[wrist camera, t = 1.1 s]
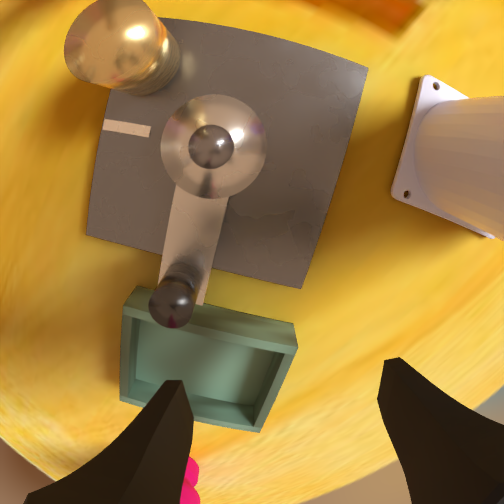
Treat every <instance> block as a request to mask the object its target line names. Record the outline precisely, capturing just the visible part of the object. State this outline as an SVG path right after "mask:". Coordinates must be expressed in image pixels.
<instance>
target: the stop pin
mask: <svg viewBox="0 0 504 504" xmlns="http://www.w3.org/2000/svg"><path fill="white" fill-rule="evenodd" d="M64 57H65V61H66V64H67V67H68V68H69V70H70V72H71V73H72V74H73V75H74V76H76V77H77V78H79V79H81V80H83V81H86V82H89V83H93V84H96V85H100V86H103V87H107V88H110V89H113V90H117V91H120V92H123V93H126V94H129V95H134V96H144V95H149V94H152V93H154V92H157V91H159V90H160V89H162V88H163V87H164V86H166V85H167V84H168V83H169V82H170V81H171V80H172V78H173V77H174V75H175V74H176V72H177V70H178V67H179V64H180V58H181V54H180V48H179V45H178V43H177V41H176V40H175V38H174V37H173V36H172V35H171V33H170V32H169V31H168V30H167V28H166V27H165V26H164V25H163V24H162V22H161V21H160V20H159V19H158V18H157V16H156V15H155V14H154V13H153V12H152V10H151V9H150V8H149V7H148V6H147V4H146V3H145V2H143V1H142V0H98V1H96V2H94V3H92V4H91V5H90V6H88V7H87V8H86V9H85V10H83V11H82V12H81V13H80V15H79V16H78V17H77V18H76V19H75V21H74V22H73V24H72V25H71V27H70V29H69V31H68V34H67V36H66V40H65V45H64Z"/></svg>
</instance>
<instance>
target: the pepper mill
mask: <svg viewBox="0 0 504 504" xmlns="http://www.w3.org/2000/svg"><path fill="white" fill-rule="evenodd" d="M198 474H199V467H198V465H197V463H196V462H195V461H194V460H193V459H192V458H191V457H189V458H188V463H187V467H186V472H185V477H184V481H183V486H182V491H181V498H180V504H200V497H199V495H198V493H197V491H196V490H195V488H194V486H195V485H196V484H197V482H198Z"/></svg>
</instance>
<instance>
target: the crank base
mask: <svg viewBox="0 0 504 504" xmlns="http://www.w3.org/2000/svg"><path fill="white" fill-rule="evenodd" d="M157 18H158V19H159V20H160V21H161V22H162V24H163V25H164V26H165V27H166V28H167V30H168V31H169V32H170V33H171V35H172V36H173V37H174V38H175V40H176V41H177V43H178V45H179V48H180V54H181V58H180V64H179V67H178V70H177V72H176V74H175V75H174V77H173V78H172V80H171V81H170V82H169V83H168V84H167V85H166V86H164V87H163V88H162V89H160V90H159V91H157V92H154V93H152V94H149V95H144V96H134V95H129V94H126V93H123V92H120V91H117V90H113V89H111V91H110V95H109V99H108V103H107V107H106V111H105V116H104V120H103V125H102V130H101V135H100V140H99V145H98V150H97V156H96V162H95V168H94V174H93V181H92V188H91V195H90V203H89V212H88V221H87V232H86V235H89V236H93V237H96V238H100V239H104V240H107V241H111V242H115V243H118V244H122V245H126V246H130V247H133V248H137V249H141V250H145V251H149V252H152V253H156V254H160V255H163V250H164V244H165V239H166V233H167V228H168V222H169V217H170V212H171V207H172V202H173V197H174V193H175V188H176V183H175V182H174V181H173V180H172V179H171V178H170V176H169V175H168V173H167V171H166V169H165V167H164V164H163V161H162V157H161V139H162V134H163V131H164V128H165V126H166V124H167V122H168V120H169V119H170V117H171V116H172V115H173V113H174V112H175V111H176V110H177V109H178V108H179V107H180V106H182V105H183V104H185V103H186V102H188V101H190V100H192V99H194V98H197V97H200V96H204V95H211V94H220V95H226V96H230V97H233V98H235V99H238V100H240V101H241V102H243V103H245V104H246V105H247V106H249V107H250V108H251V109H252V110H253V111H254V112H255V113H256V115H257V116H258V118H259V119H260V121H261V123H262V125H263V127H264V130H265V133H266V138H267V153H266V158H265V162H264V165H263V167H262V169H261V171H260V173H259V174H258V176H257V177H256V179H255V180H254V181H253V182H252V183H251V184H250V185H249V186H248V187H246V188H245V189H244V190H242V191H241V192H239V193H237V194H235V195H232V196H229V199H228V203H227V207H226V211H225V215H224V219H223V223H222V227H221V231H220V235H219V239H218V244H217V248H216V252H215V256H214V260H213V265H212V268H215V269H219V270H223V271H227V272H231V273H235V274H239V275H244V276H248V277H252V278H256V279H260V280H264V281H268V282H273V283H277V284H281V285H285V286H290V287H294V288H298V289H301V288H302V285H303V282H304V279H305V277H306V274H307V271H308V268H309V265H310V262H311V259H312V256H313V254H314V251H315V248H316V245H317V242H318V239H319V236H320V233H321V230H322V227H323V224H324V221H325V218H326V214H327V211H328V208H329V205H330V202H331V199H332V196H333V192H334V189H335V186H336V183H337V179H338V176H339V173H340V170H341V166H342V163H343V160H344V156H345V153H346V149H347V146H348V142H349V139H350V135H351V132H352V128H353V125H354V121H355V117H356V114H357V110H358V106H359V103H360V99H361V95H362V91H363V87H364V84H365V80H366V76H367V72H368V68H367V67H365V66H362V65H360V64H357V63H355V62H352V61H349V60H347V59H344V58H341V57H338V56H336V55H333V54H330V53H327V52H324V51H321V50H318V49H315V48H312V47H308V46H305V45H302V44H298V43H295V42H291V41H288V40H284V39H281V38H277V37H273V36H269V35H265V34H261V33H256V32H252V31H247V30H242V29H238V28H233V27H227V26H222V25H216V24H210V23H203V22H196V21H189V20H180V19H171V18H160V17H157Z"/></svg>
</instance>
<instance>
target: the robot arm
mask: <svg viewBox="0 0 504 504" xmlns="http://www.w3.org/2000/svg"><path fill="white" fill-rule="evenodd" d="M433 83H434V84H435V85H436V87H437V89H436V90H435V89H434V88H433ZM407 190H408V196H407V197H406V198H404V192H405V191H407ZM391 195H392V197H393V198H395V199H396V200H399V201H401V202H404V203H407V204H409V205H412V206H415V207H417V208H420V209H422V210H425V211H427V212H430V213H432V214H435V215H437V216H440V217H442V218H445V219H447V220H449V221H452V222H454V223H456V224H459V225H461V226H463V227H466V228H468V229H470V230H473V231H475V232H477V233H479V234H482V235H484V236H486V237H488V238H490V239H493V238H495V237H497V238H498V239H500V240H502V241H504V96H494V97H480V98H468V97H467V96H465V95H463V94H462V93H460V92H458V91H457V90H455V89H453V88H452V87H450V86H448V85H447V84H445V83H443V82H441V81H440V80H438V79H436V78H434V77H432V76H430V75H424V76H422V77H421V79H420V82H419V87H418V91H417V96H416V100H415V104H414V109H413V113H412V117H411V121H410V125H409V128H408V132H407V136H406V140H405V143H404V147H403V150H402V154H401V157H400V161H399V164H398V168H397V171H396V174H395V177H394V181H393V184H392V187H391ZM377 401H378V404H379V408H380V412H381V415H382V419H383V422H384V425H385V427H386V429H387V432H388V434H389V437H390V439H391V441H392V444H393V446H394V448H395V451H396V453H397V456H398V458H399V460H400V463H401V465H402V468H403V471H404V474H405V477H406V481H407V485H408V489H409V493H410V497H411V501H412V504H504V425H502V424H500V423H497V422H495V421H493V420H490V419H488V418H486V417H484V416H482V415H480V414H478V413H476V412H475V411H473V410H471V409H469V408H467V407H466V406H464V405H462V404H461V403H459V402H458V401H456V400H455V399H453V398H452V397H450V396H449V395H447V394H446V393H444V392H443V391H442V390H440V389H439V388H438V387H436V386H435V385H434V384H432V383H431V382H430V381H429V380H427V379H426V378H425V377H424V376H422V375H421V374H420V373H419V372H417V371H416V370H415V369H414V368H412V367H411V366H410V365H409V364H408V363H406V362H405V361H404V360H403V359H401V358H400V357H398V358H393V359H388V360H384V366H383V372H382V377H381V382H380V388H379V393H378V397H377ZM193 424H194V416H193V413H192V410H191V407H190V404H189V401H188V397H187V394H186V391H185V388H184V384H183V381H182V380H166V381H165V382H164V383H163V384H162V385H161V387H160V388H159V389H158V390H157V392H156V393H155V394H154V396H153V397H152V398H151V399H150V401H149V402H148V403H147V404H146V406H145V407H144V408H143V409H142V411H141V412H140V413H139V414H138V415H137V416H136V418H135V419H134V420H133V421H132V422H131V423H130V424H129V426H128V427H127V428H126V429H125V430H124V431H123V432H122V433H121V434H120V435H119V436H118V437H117V438H116V439H115V440H114V441H113V442H112V443H111V444H110V445H109V446H108V447H106V448H105V449H104V450H103V451H102V452H101V453H99V454H98V455H97V456H96V457H94V458H93V459H92V460H90V461H89V462H87V463H86V464H85V465H83V466H82V467H80V468H79V469H77V470H76V471H74V472H73V473H71V474H69V475H68V476H66V477H64V478H62V479H60V480H58V481H57V482H55V483H52V484H51V485H48V486H46V487H43V488H41V489H39V490H37V491H34V492H31V493H29V494H28V495H27V497H26V499H25V501H24V503H23V504H180V498H181V491H182V486H183V481H184V477H185V472H186V467H187V463H188V458H189V453H190V449H191V444H192V436H193Z"/></svg>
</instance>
